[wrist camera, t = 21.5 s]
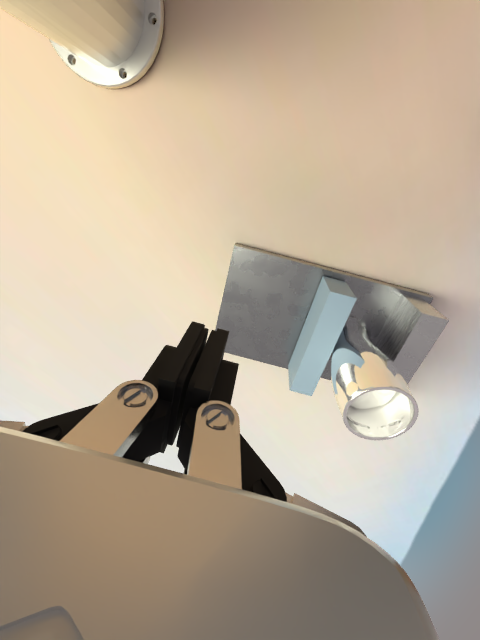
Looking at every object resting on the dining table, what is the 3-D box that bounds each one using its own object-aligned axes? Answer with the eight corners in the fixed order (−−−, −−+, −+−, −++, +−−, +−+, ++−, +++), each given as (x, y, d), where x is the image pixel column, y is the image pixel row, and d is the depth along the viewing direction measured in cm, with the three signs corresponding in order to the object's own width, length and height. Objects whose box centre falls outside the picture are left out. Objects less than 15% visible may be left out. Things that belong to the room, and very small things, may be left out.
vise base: (213, 343, 44) (201, 372, 38) (235, 242, 37) (226, 256, 30) (373, 385, 44) (390, 422, 38) (427, 293, 37) (460, 318, 30)
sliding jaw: (288, 365, 42) (289, 390, 37) (322, 275, 36) (330, 291, 31) (307, 370, 42) (311, 396, 37) (345, 281, 36) (356, 298, 31)
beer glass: (322, 359, 42) (343, 444, 28) (316, 317, 39) (337, 389, 25) (372, 353, 40) (420, 439, 27) (370, 309, 37) (422, 381, 24)
